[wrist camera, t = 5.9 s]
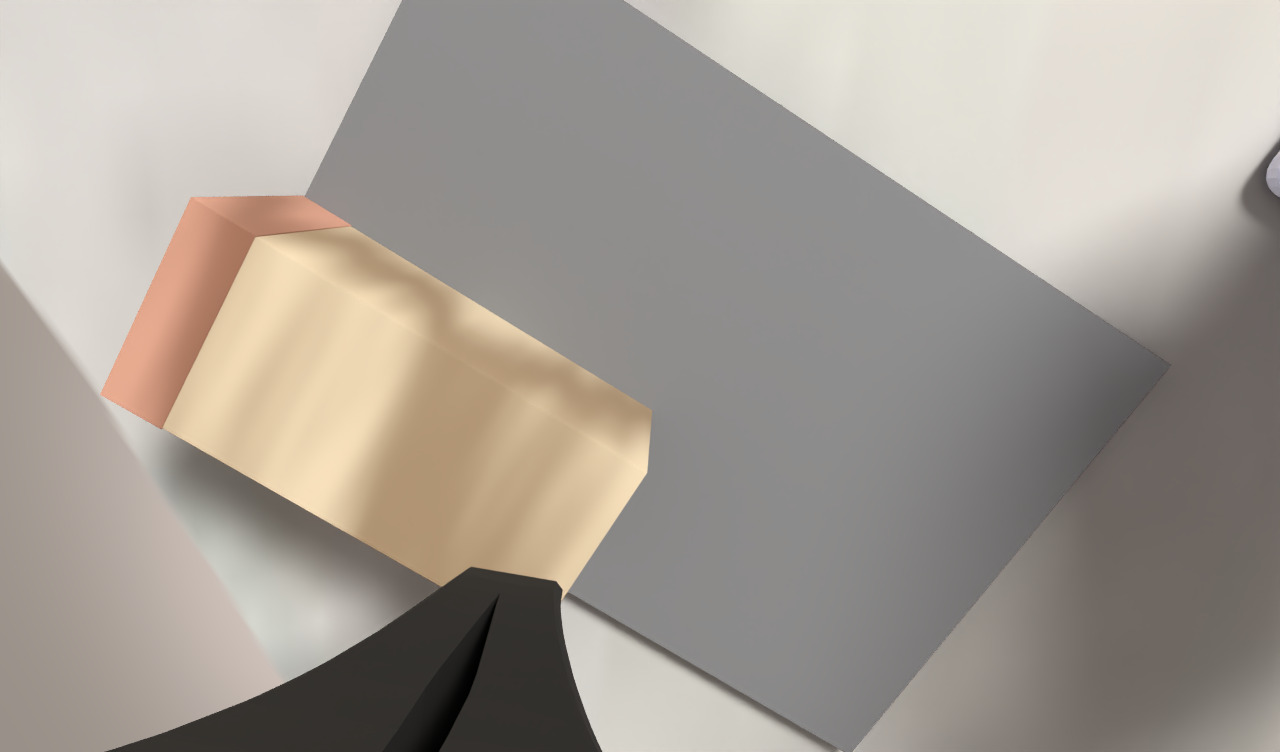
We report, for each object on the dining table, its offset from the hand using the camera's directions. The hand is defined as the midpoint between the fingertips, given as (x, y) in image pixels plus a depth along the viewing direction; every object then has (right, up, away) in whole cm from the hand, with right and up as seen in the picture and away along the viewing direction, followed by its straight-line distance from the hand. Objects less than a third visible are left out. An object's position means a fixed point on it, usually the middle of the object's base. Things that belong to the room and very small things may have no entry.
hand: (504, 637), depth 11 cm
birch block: (+1, +1, +5) cm, 5 cm away
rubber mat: (+3, +4, +7) cm, 9 cm away
